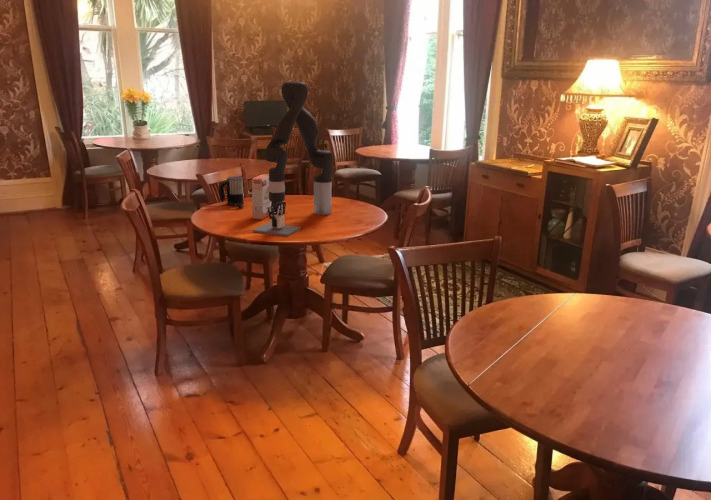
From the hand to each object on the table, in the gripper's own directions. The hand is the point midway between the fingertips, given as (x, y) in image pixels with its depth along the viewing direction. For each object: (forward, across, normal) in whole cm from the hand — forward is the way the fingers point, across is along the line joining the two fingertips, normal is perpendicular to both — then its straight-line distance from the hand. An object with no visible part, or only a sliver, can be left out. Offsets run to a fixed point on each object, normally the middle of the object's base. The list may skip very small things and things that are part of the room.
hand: (277, 225), depth 267 cm
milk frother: (+3, -34, -43) cm, 55 cm away
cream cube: (0, 0, 0) cm, 0 cm away
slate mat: (+2, 0, 0) cm, 2 cm away
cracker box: (+3, -20, -19) cm, 28 cm away
